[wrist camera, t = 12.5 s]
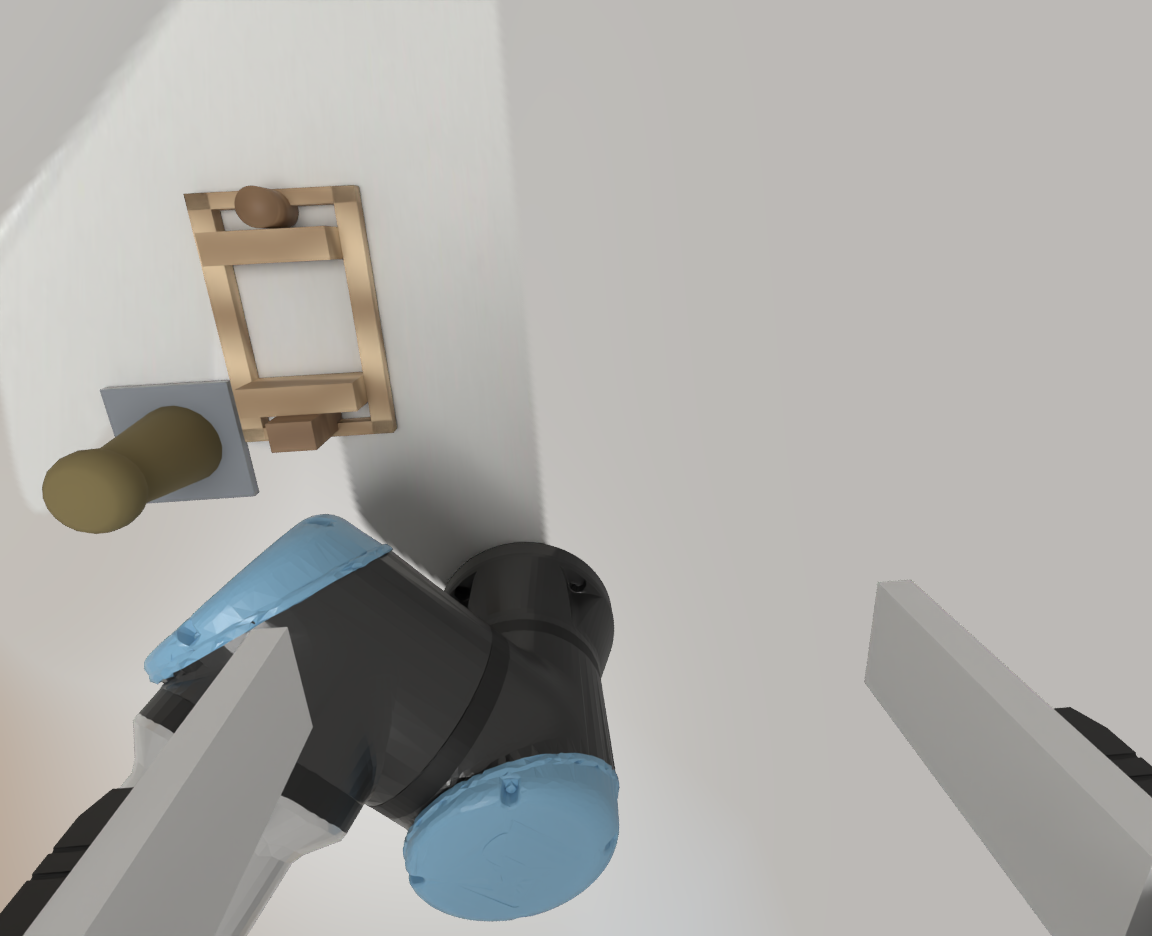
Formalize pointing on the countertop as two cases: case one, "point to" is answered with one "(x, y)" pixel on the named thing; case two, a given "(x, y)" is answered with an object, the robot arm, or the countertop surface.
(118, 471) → the cork
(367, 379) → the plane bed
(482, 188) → the countertop surface
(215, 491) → the slate coaster
